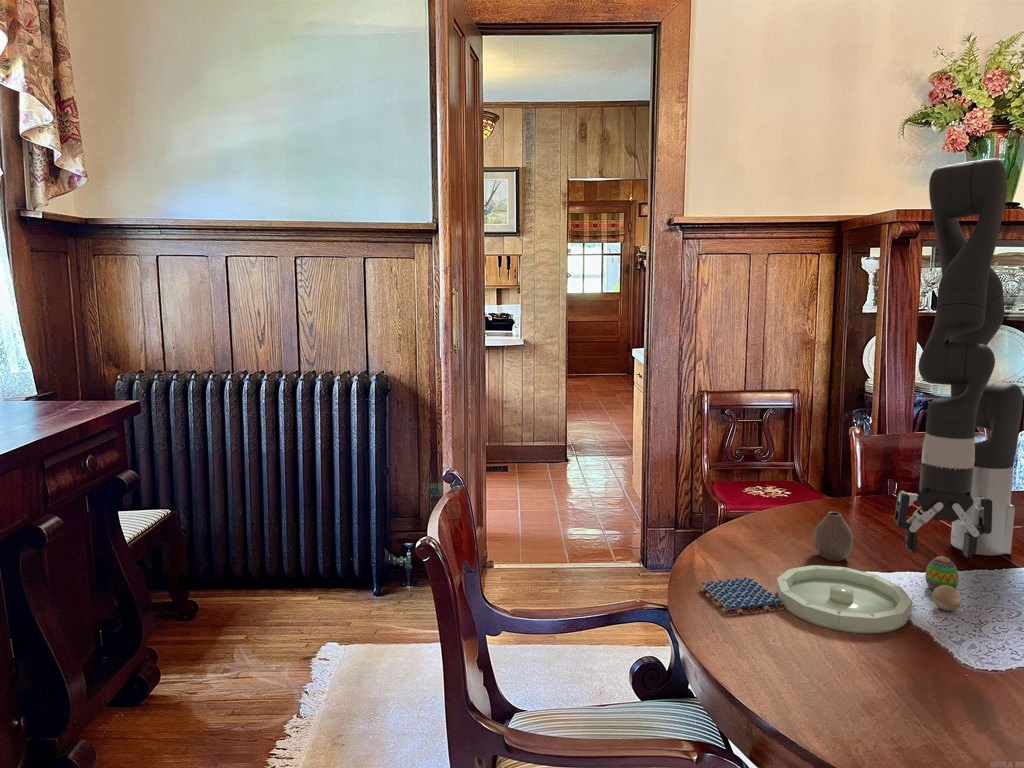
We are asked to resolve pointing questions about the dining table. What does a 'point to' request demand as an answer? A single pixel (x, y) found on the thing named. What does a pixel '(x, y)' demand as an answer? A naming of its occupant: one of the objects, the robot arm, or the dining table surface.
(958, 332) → the robot arm
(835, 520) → the vase
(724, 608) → the woven mat
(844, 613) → the groove dish
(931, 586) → the egg
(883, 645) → the dining table surface
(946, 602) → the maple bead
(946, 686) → the dining table surface
